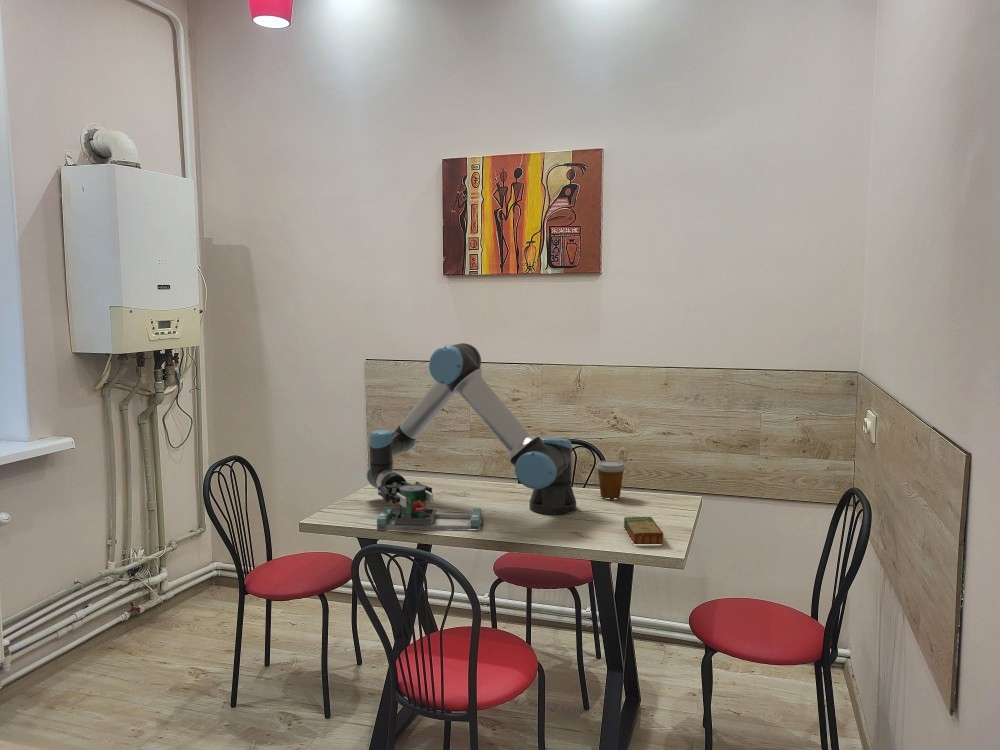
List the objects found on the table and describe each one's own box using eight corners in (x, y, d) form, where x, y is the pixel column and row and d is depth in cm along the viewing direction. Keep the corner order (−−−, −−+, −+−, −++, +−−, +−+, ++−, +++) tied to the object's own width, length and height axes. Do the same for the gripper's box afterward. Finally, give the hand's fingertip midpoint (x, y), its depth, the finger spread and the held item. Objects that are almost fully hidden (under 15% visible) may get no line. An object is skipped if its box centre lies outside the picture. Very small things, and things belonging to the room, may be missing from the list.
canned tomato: (402, 518, 236) (401, 483, 234) (427, 519, 235) (427, 484, 234) (397, 526, 228) (397, 490, 227) (423, 527, 227) (423, 490, 226)
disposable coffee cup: (626, 501, 256) (626, 466, 255) (597, 501, 256) (598, 466, 255) (622, 494, 266) (622, 460, 264) (594, 494, 266) (595, 460, 265)
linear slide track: (481, 517, 237) (481, 507, 237) (478, 530, 224) (478, 519, 224) (384, 516, 238) (384, 506, 238) (377, 528, 225) (376, 517, 225)
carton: (633, 547, 211) (633, 532, 210) (623, 529, 227) (623, 515, 226) (663, 547, 211) (663, 532, 211) (651, 529, 227) (651, 515, 226)
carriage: (436, 512, 237) (436, 507, 237) (430, 524, 225) (430, 519, 224) (401, 511, 238) (401, 507, 238) (394, 524, 225) (394, 519, 225)
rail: (481, 517, 237) (481, 514, 237) (478, 530, 224) (478, 526, 224) (384, 516, 238) (384, 512, 238) (377, 528, 225) (377, 524, 225)
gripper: (421, 491, 252) (450, 508, 232) (360, 499, 242) (385, 517, 222) (421, 469, 251) (450, 484, 231) (360, 476, 241) (385, 492, 221)
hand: (418, 500), depth 226 cm, fingers closed on canned tomato, 8 cm apart
